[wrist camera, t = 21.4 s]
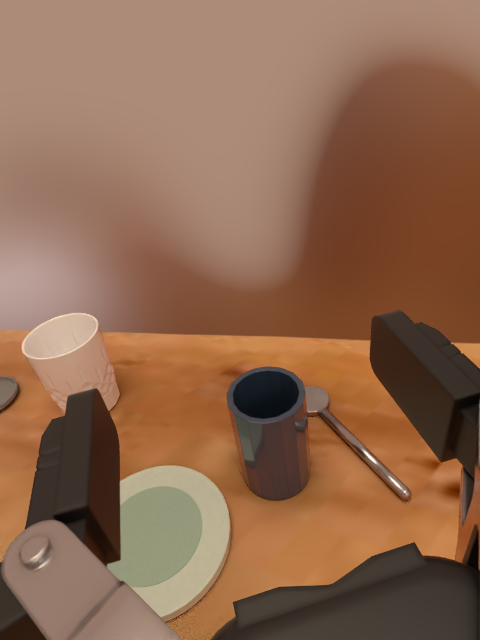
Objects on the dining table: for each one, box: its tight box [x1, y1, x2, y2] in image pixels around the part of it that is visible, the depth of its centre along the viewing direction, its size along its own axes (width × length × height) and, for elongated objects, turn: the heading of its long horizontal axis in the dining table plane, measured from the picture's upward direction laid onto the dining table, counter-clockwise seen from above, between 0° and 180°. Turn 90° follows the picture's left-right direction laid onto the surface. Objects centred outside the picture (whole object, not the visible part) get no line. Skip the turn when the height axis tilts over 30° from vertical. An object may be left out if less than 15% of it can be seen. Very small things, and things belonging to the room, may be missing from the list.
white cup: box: [22, 313, 120, 416], centre depth 48 cm, size 8×8×10 cm
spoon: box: [304, 386, 411, 500], centre depth 42 cm, size 4×16×1 cm, turn 29°
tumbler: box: [227, 367, 311, 500], centre depth 37 cm, size 6×6×10 cm
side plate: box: [107, 465, 231, 622], centre depth 36 cm, size 13×13×1 cm
